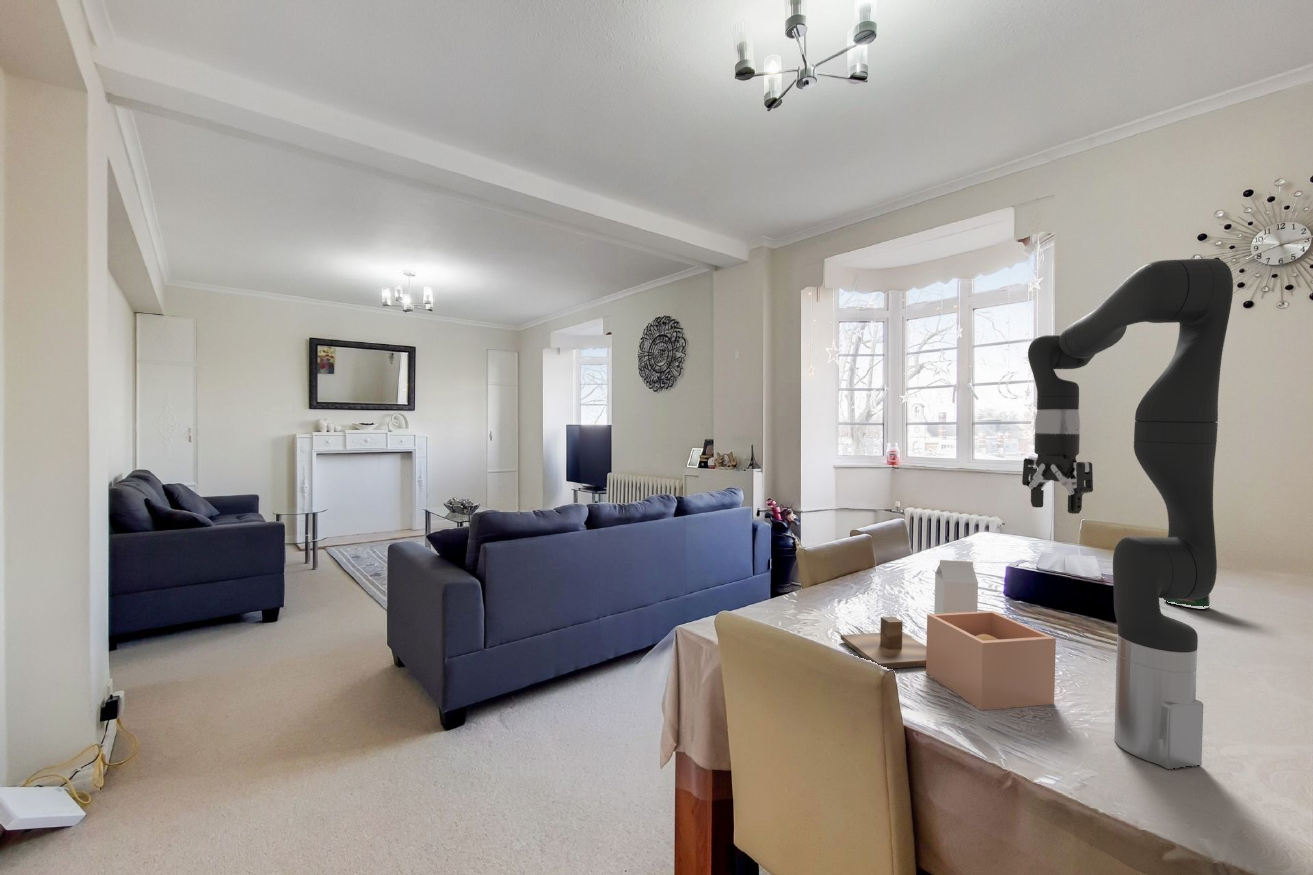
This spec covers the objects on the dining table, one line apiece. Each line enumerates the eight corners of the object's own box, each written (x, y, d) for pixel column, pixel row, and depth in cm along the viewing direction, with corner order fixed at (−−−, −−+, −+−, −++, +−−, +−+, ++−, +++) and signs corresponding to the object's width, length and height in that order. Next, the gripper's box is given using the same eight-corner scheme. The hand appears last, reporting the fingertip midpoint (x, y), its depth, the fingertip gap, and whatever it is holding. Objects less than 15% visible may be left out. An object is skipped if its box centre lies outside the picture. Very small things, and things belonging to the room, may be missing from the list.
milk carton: (976, 648, 125) (978, 565, 125) (942, 645, 127) (944, 563, 126) (965, 637, 132) (967, 557, 132) (933, 634, 134) (935, 556, 133)
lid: (946, 663, 116) (947, 630, 116) (878, 668, 113) (879, 634, 113) (901, 635, 131) (902, 606, 131) (840, 639, 129) (841, 609, 128)
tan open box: (1054, 703, 101) (1055, 638, 100) (981, 710, 98) (982, 643, 98) (990, 667, 115) (992, 610, 115) (925, 672, 113) (927, 614, 113)
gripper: (1105, 432, 108) (1103, 515, 109) (1042, 431, 122) (1041, 505, 123) (1072, 432, 107) (1070, 516, 107) (1013, 431, 121) (1011, 505, 121)
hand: (1054, 510), depth 115 cm, fingers open, 8 cm apart
